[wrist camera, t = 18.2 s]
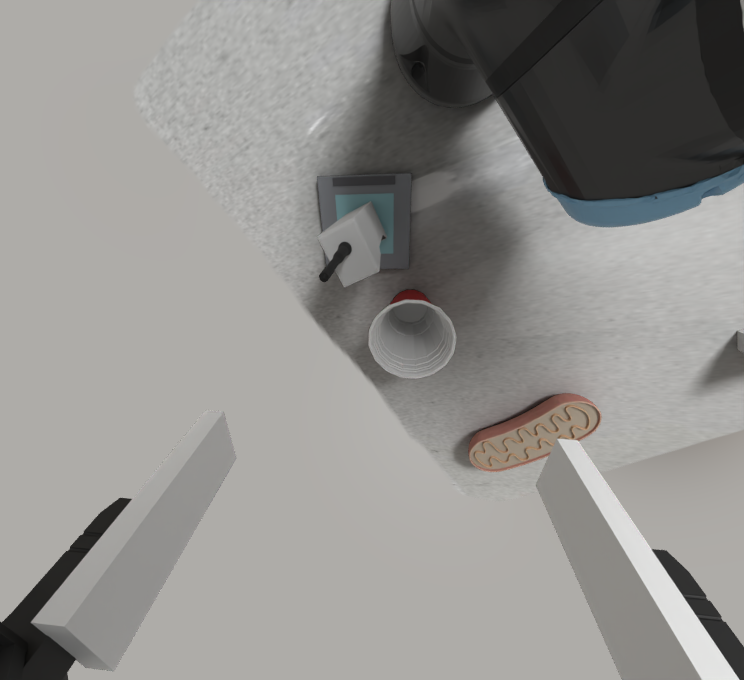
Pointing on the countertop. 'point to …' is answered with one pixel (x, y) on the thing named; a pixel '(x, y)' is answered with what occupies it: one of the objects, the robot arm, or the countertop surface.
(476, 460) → the anatomical model
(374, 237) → the vintage mobile phone
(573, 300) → the countertop surface
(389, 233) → the pad
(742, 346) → the white house shaped block
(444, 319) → the plastic cup
